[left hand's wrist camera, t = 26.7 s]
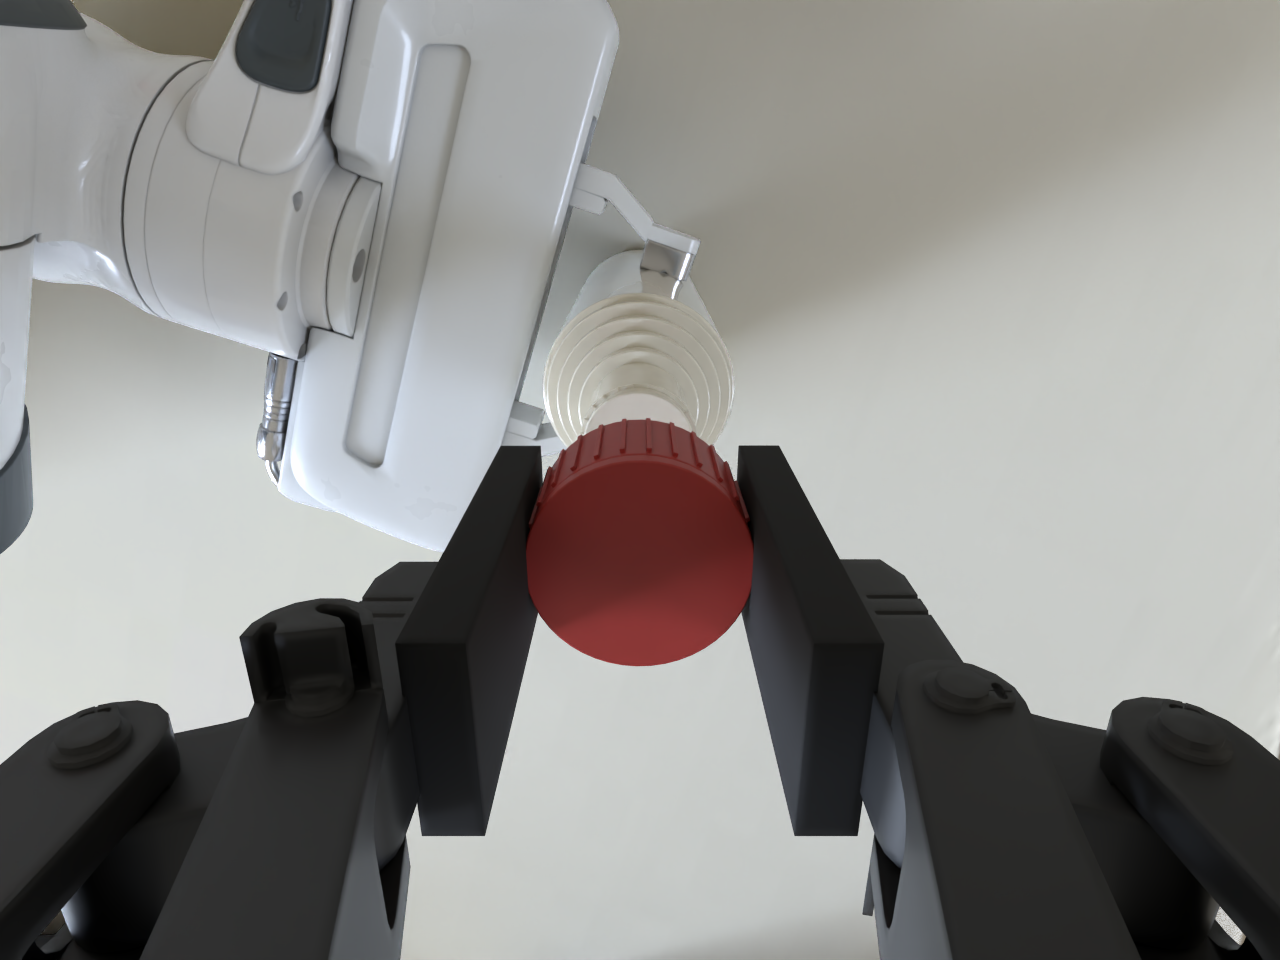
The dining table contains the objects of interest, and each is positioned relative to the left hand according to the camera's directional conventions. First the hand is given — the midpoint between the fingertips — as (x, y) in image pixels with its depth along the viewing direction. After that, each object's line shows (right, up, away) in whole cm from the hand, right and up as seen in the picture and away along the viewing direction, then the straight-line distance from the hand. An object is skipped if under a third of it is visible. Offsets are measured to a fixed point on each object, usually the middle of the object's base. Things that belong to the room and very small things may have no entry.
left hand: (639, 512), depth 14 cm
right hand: (+1, +5, +13) cm, 15 cm away
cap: (0, -1, -2) cm, 2 cm away
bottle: (0, +8, +20) cm, 21 cm away
